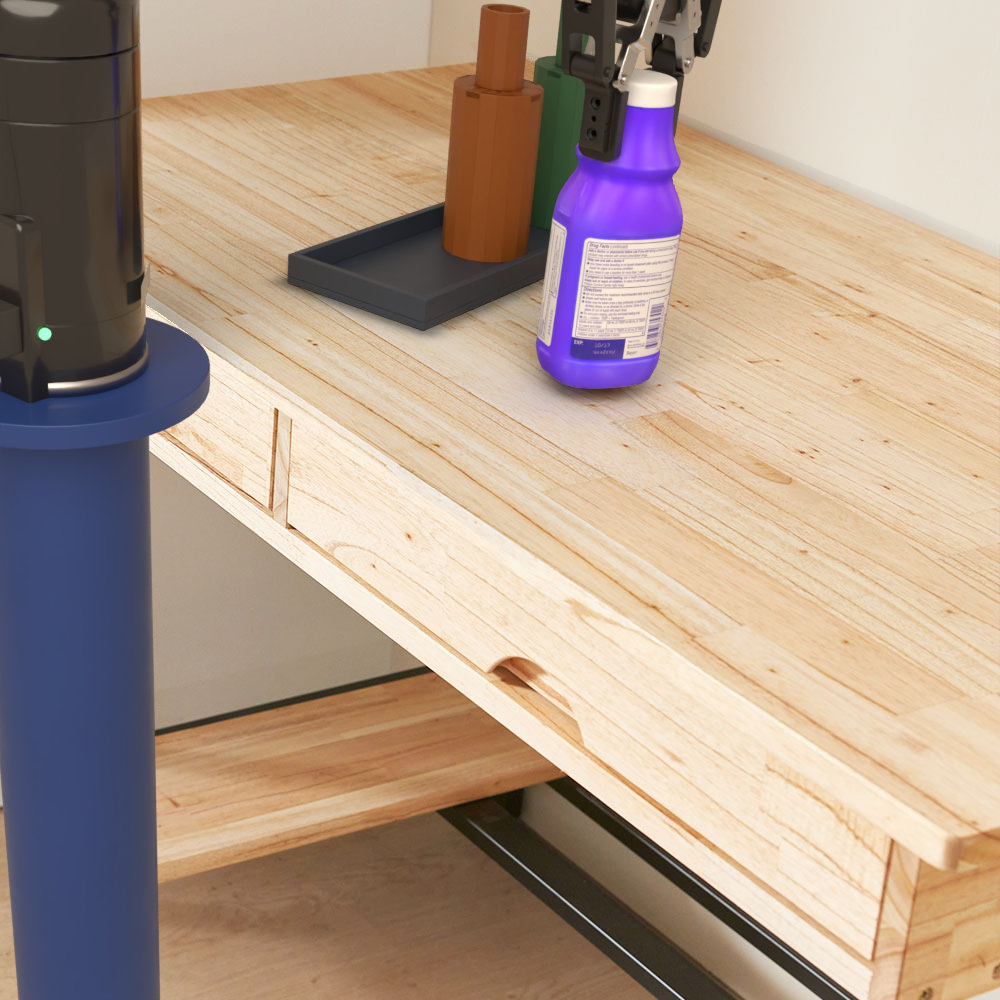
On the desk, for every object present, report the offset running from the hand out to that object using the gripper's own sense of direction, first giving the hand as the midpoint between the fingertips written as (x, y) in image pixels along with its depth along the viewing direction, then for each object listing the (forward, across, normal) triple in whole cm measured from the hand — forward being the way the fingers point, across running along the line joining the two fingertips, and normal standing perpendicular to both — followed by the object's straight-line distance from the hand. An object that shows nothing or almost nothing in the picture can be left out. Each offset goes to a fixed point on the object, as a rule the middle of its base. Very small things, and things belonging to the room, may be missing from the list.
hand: (627, 147), depth 84 cm
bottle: (+14, 0, 0) cm, 14 cm away
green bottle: (+14, -24, -18) cm, 33 cm away
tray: (+14, -14, -18) cm, 27 cm away
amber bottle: (+14, -14, -18) cm, 27 cm away
